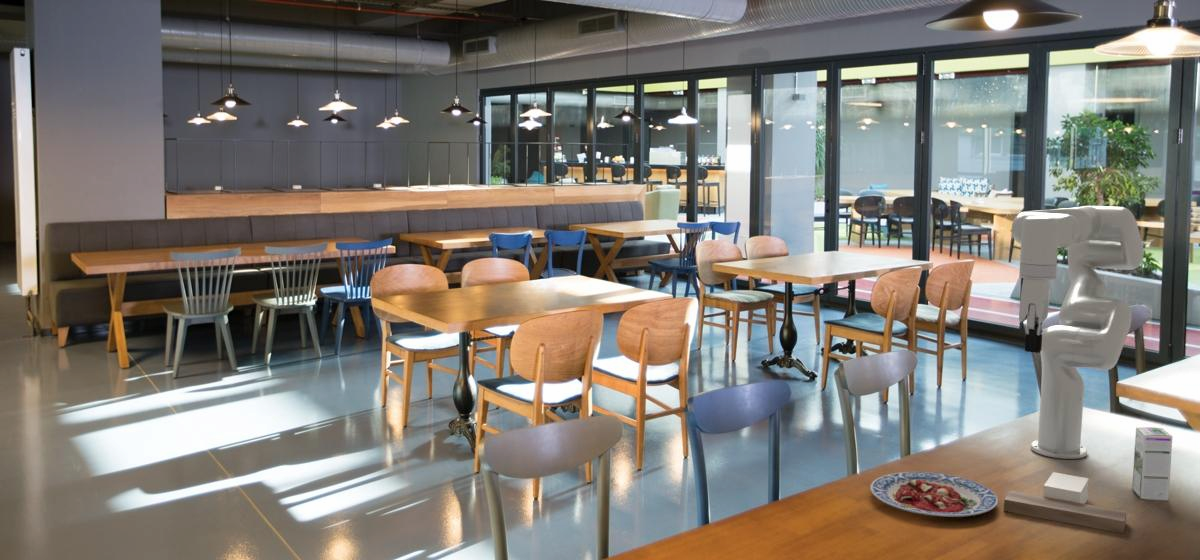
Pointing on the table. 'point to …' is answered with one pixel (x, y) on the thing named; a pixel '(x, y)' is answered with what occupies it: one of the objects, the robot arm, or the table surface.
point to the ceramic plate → (934, 494)
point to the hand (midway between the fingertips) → (1033, 351)
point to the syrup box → (1152, 463)
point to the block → (1066, 488)
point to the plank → (1066, 511)
